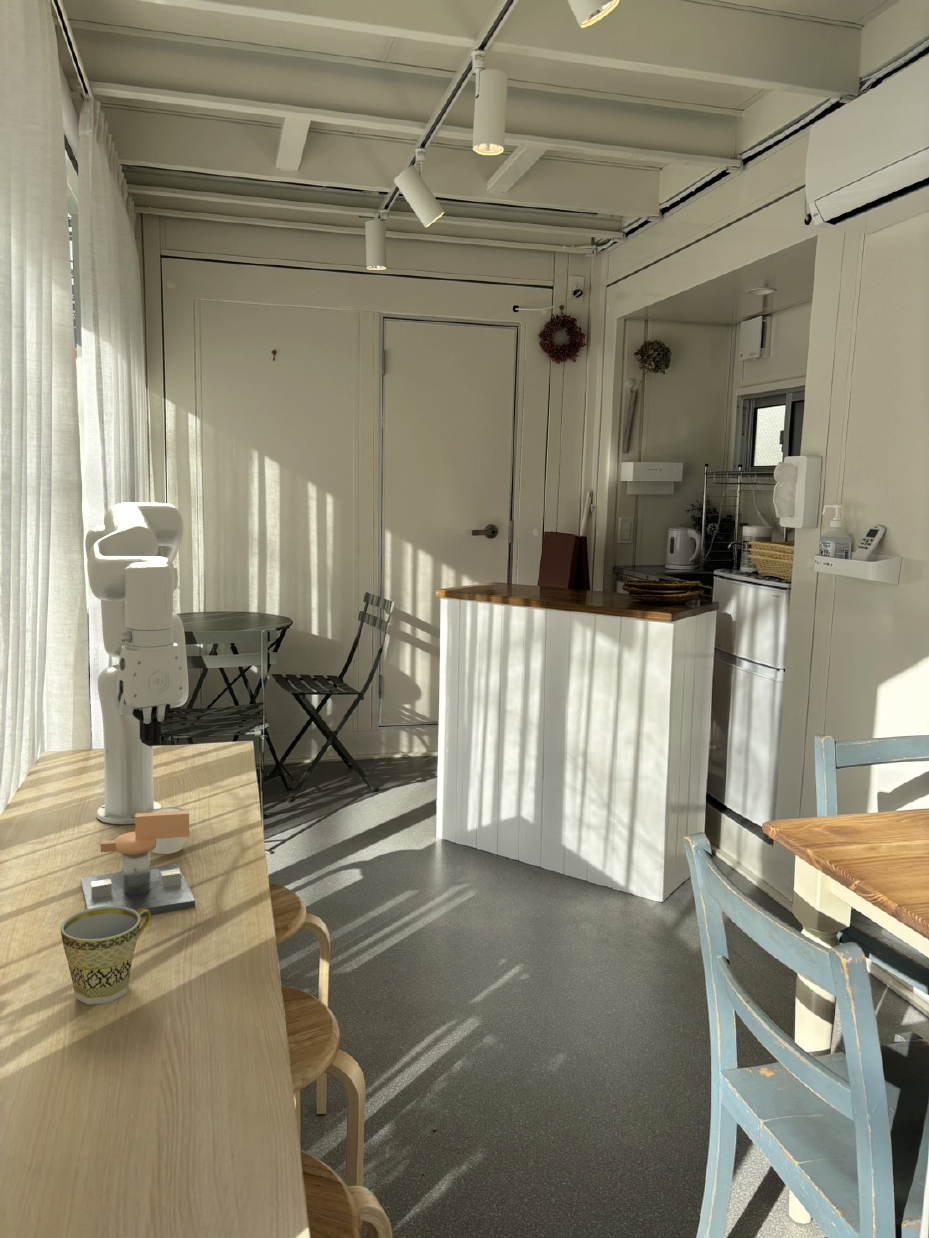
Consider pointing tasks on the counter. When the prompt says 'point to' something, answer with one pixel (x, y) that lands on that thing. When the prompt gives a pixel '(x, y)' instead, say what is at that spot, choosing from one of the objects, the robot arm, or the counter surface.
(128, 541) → the robot arm
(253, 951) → the counter surface
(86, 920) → the ceramic cup
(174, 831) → the orange lever handle
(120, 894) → the grey plate with posts
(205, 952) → the counter surface
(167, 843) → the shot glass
